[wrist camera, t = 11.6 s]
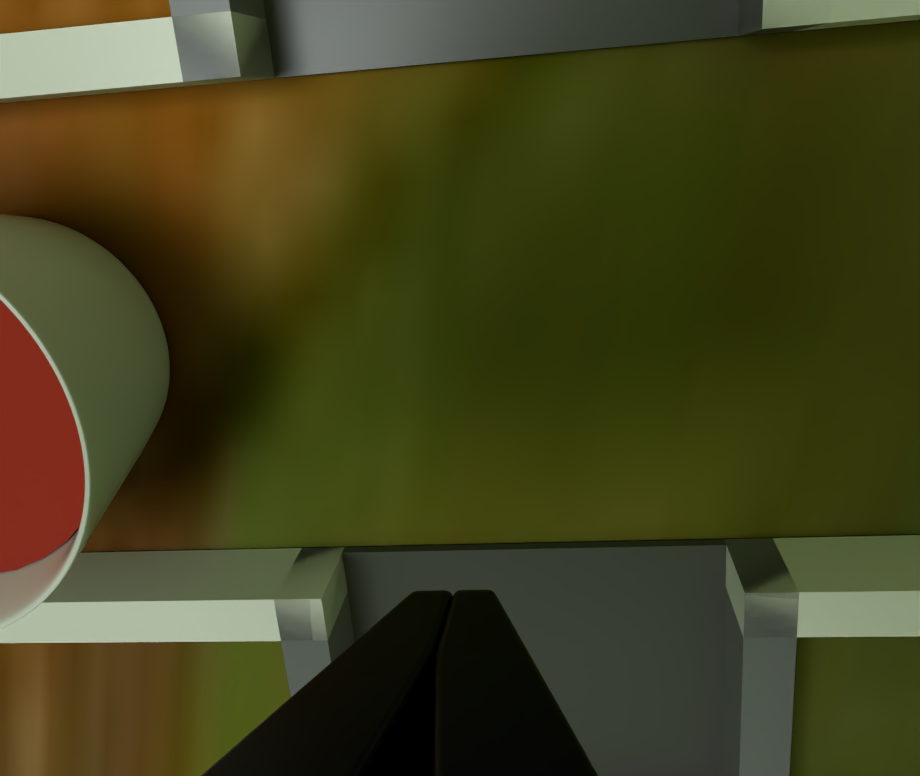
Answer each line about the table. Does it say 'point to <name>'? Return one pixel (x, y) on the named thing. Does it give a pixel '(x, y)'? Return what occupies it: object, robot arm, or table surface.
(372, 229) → the table surface
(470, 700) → the robot arm
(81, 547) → the candle
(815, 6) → the trap box
